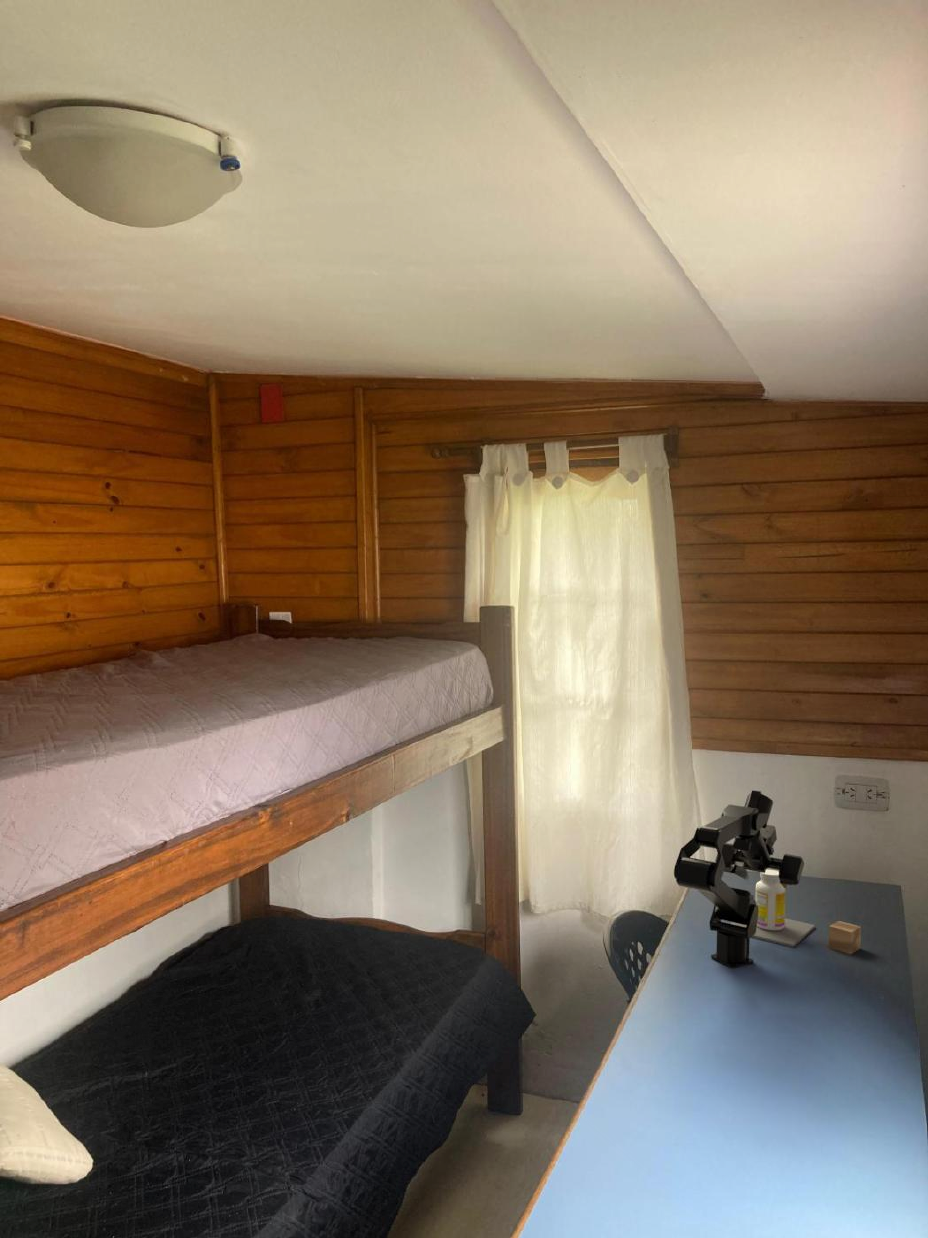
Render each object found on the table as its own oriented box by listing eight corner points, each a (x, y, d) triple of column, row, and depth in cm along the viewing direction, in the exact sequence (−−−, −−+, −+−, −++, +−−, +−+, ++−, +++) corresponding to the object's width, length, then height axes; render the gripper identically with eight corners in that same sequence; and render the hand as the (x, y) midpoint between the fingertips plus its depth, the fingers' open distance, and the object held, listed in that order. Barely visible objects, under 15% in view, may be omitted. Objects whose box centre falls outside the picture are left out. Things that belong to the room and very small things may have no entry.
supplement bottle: (783, 923, 223) (785, 869, 223) (785, 933, 217) (786, 878, 217) (754, 920, 225) (755, 867, 225) (754, 930, 219) (756, 875, 219)
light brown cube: (850, 954, 207) (851, 932, 207) (828, 948, 210) (829, 926, 210) (860, 949, 210) (861, 926, 210) (838, 942, 214) (838, 921, 214)
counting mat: (793, 947, 210) (793, 944, 210) (723, 930, 220) (723, 928, 220) (814, 927, 223) (815, 925, 223) (748, 912, 233) (748, 910, 233)
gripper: (803, 821, 208) (816, 861, 217) (721, 808, 220) (737, 846, 229) (790, 864, 202) (804, 903, 211) (707, 849, 213) (724, 886, 222)
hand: (766, 883), depth 219 cm, fingers open, 9 cm apart
